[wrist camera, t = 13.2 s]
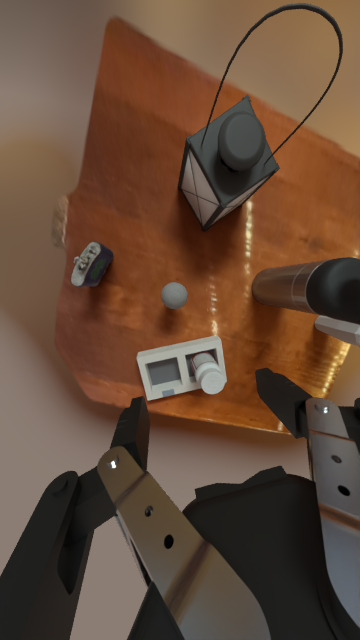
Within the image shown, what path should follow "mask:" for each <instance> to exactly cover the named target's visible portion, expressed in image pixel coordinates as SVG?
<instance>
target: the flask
mask: <svg viewBox="0 0 360 640" xmlns="http://www.w3.org/2000/svg"><path fill="white" fill-rule="evenodd" d="M77 259H78V260H77ZM112 259H113V253H112V251H111V250H109V249H108V248H106V247H105V246H103V245H102V244H100V243H98V242H91V243H90V244H89V245H88V246H87V247H86V248H85V250H84V251H83V252H82V254H81V255H80V257H79V258H78V257H76V258H74V261H77V263H76V265H75V267H74V271H73V273H72V277H71V282H72V284H73V285H75V286H77V287H81V286H97V285H98V284H99V283H100V282H101V278H102V276H103V275H104V274H105V272H106V268H107V267H108V264H109V263H110V262H111V260H112ZM74 263H75V262H74Z"/></svg>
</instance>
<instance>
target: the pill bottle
mask: <svg viewBox="0 0 360 640" xmlns="http://www.w3.org/2000/svg"><path fill="white" fill-rule="evenodd" d="M190 364H191V367H192V370H193V373H194V375H195V378H196V381H197V382H198V384H199V385H200V386H201V387H202V389H203V391H204V392H206V393H208V394H216V393H218V392H220V391H221V390H222V389H223V387H224V385H225V379H224V377H223V375H222V371H221V368H220V367H219V365H218V364H217V363H216V361H215V360H214V358H213V357H212V356H211V354H210V353H208V352H206V351H201V352H196V353H194V354H193V356H192V357H191V360H190Z"/></svg>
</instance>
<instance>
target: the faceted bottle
mask: <svg viewBox="0 0 360 640" xmlns="http://www.w3.org/2000/svg"><path fill="white" fill-rule="evenodd" d="M314 324H315V327H316V329H318V330H319V331H321V332H324V333H326V334H328V335H330V336H333V337H335V338H337V339H339V340H342V341H344V342H347V343H350V344H353V345H356V346H359V347H360V325H358V324H354V323H350V322H346V321H341V320H336V319H332V318H329V317H327V316H322V315H321V316H319V317H318V318H317V319H316V321H315V322H314Z"/></svg>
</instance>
